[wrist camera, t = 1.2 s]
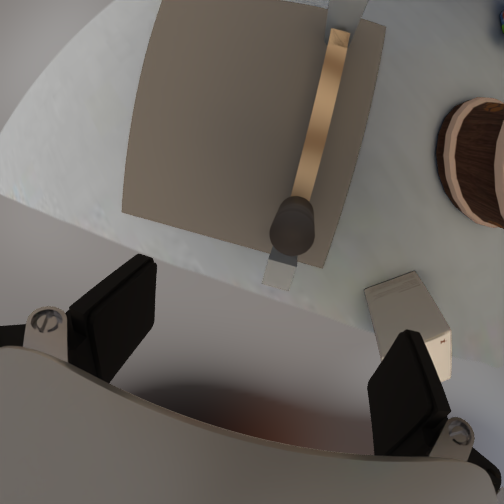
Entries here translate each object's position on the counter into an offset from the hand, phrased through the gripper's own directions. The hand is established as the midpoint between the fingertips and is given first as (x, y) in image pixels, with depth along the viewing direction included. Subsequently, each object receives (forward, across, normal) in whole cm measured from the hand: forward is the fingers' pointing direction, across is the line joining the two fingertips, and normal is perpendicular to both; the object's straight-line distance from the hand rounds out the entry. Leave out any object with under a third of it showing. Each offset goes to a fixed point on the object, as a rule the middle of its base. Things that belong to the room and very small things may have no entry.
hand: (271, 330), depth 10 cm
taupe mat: (+23, +8, -8) cm, 26 cm away
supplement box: (+24, -16, +9) cm, 30 cm away
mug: (+24, -23, -13) cm, 35 cm away
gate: (+22, 0, -7) cm, 23 cm away
